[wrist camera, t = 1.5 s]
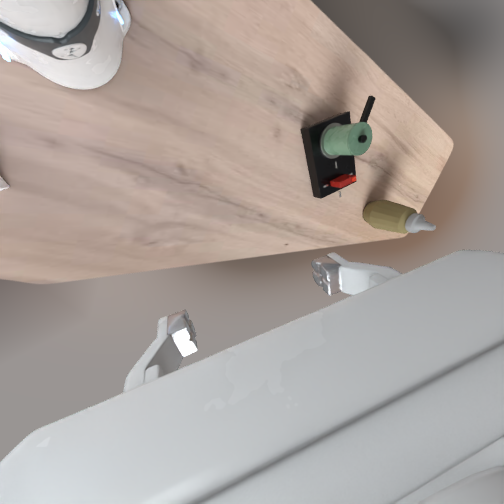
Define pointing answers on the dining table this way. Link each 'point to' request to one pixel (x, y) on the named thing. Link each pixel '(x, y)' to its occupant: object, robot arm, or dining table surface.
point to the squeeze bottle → (395, 217)
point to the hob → (321, 166)
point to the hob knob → (343, 180)
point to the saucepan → (350, 135)
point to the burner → (321, 141)
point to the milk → (3, 184)
